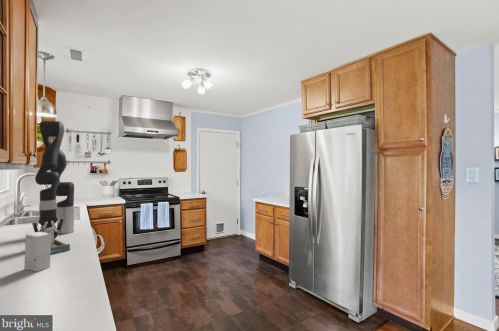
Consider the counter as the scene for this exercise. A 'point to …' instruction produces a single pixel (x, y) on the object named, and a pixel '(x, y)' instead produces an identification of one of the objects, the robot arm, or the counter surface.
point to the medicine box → (50, 231)
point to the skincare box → (37, 251)
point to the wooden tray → (59, 247)
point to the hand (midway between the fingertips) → (48, 239)
